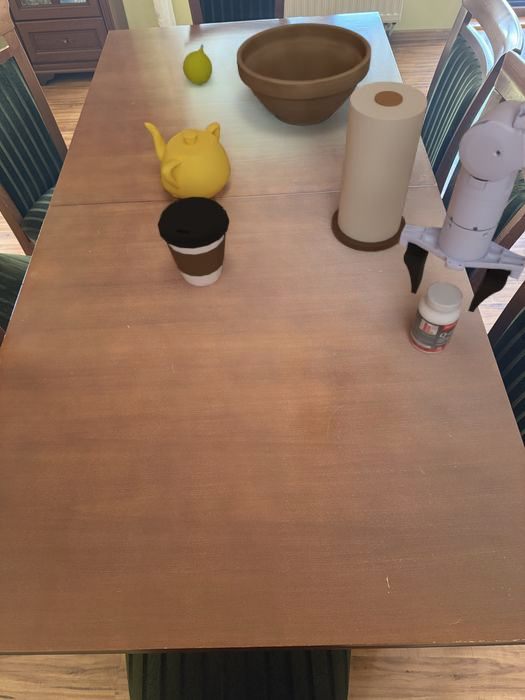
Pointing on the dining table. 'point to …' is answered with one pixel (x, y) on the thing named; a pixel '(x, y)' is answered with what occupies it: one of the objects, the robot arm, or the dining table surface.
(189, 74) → the yellow-green pear
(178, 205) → the coffee cup
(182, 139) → the teapot
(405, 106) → the paper towel roll
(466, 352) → the dining table surface
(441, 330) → the pill bottle
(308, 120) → the flower pot
